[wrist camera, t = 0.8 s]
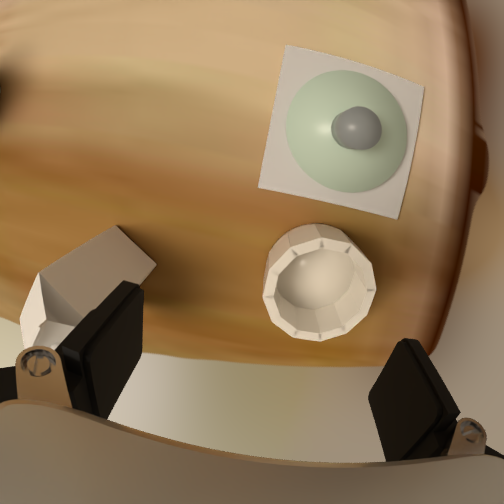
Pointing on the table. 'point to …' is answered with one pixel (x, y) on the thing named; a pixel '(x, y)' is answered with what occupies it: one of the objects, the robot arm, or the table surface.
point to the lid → (346, 131)
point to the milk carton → (80, 286)
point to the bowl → (317, 282)
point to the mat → (285, 166)
